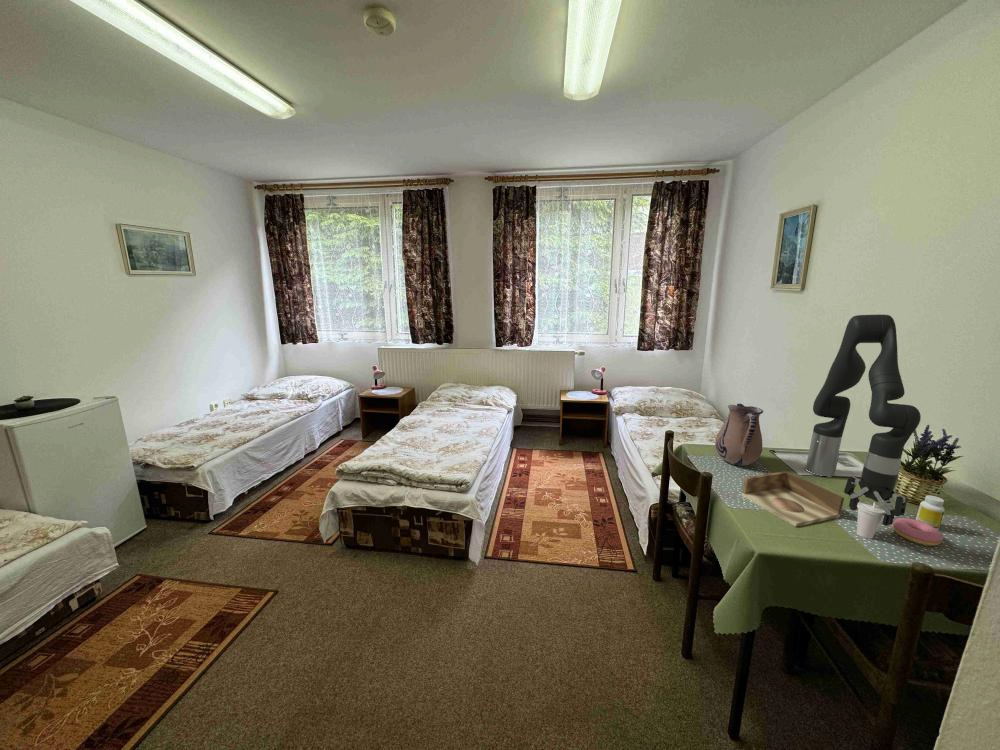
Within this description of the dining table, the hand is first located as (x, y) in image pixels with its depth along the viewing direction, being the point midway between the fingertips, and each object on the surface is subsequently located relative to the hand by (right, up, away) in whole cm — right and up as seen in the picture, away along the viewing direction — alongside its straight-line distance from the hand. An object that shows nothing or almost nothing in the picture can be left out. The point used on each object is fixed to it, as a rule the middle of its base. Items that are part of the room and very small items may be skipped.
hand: (868, 516), depth 121 cm
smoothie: (0, -6, +2) cm, 7 cm away
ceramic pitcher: (-10, +5, +51) cm, 52 cm away
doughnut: (+16, -7, +1) cm, 17 cm away
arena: (-12, -2, +17) cm, 21 cm away
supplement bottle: (+26, -6, +7) cm, 27 cm away
